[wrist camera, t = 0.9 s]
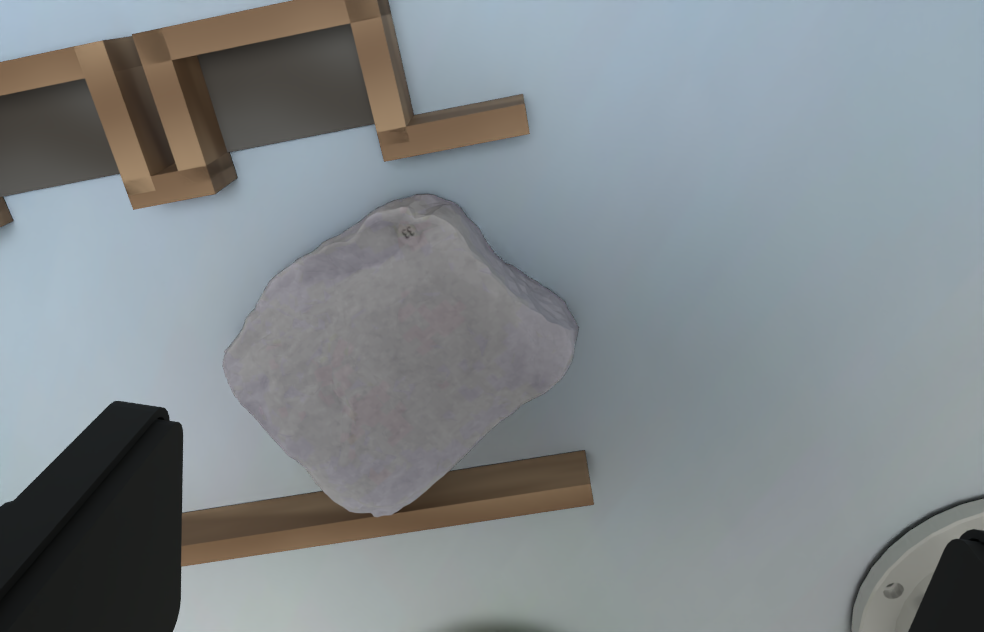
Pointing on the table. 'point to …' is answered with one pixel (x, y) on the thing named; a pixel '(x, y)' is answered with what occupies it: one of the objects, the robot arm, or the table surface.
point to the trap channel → (209, 168)
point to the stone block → (396, 352)
